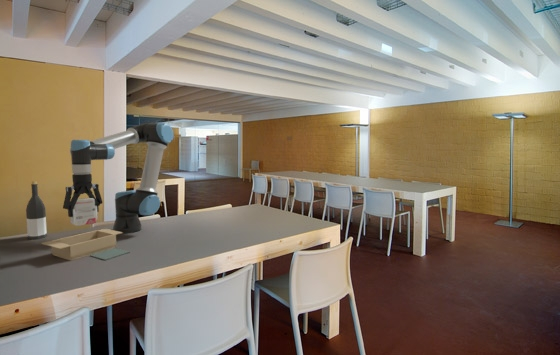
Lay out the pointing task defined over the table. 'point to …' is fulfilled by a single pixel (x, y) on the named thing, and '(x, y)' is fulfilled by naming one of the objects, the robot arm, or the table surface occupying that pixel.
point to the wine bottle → (36, 215)
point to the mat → (109, 254)
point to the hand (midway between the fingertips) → (84, 221)
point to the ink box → (85, 211)
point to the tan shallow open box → (83, 244)
